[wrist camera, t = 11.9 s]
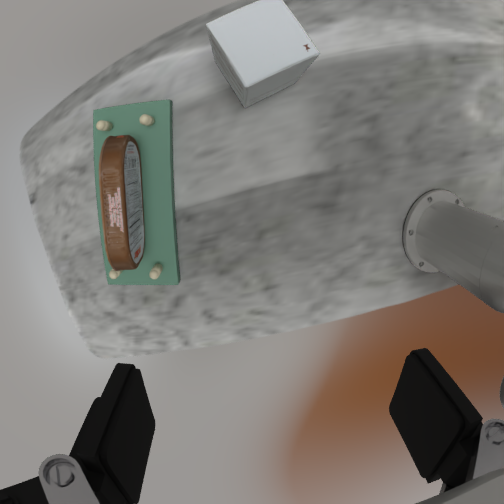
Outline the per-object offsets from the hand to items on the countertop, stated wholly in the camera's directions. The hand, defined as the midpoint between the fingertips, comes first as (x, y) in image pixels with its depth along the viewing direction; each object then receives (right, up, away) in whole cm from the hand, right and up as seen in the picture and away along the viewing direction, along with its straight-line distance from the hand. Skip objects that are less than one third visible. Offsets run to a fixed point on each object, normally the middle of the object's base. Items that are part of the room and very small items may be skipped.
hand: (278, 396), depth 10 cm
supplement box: (-1, +27, +23) cm, 35 cm away
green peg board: (-15, +12, +27) cm, 33 cm away
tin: (-15, +11, +26) cm, 32 cm away
